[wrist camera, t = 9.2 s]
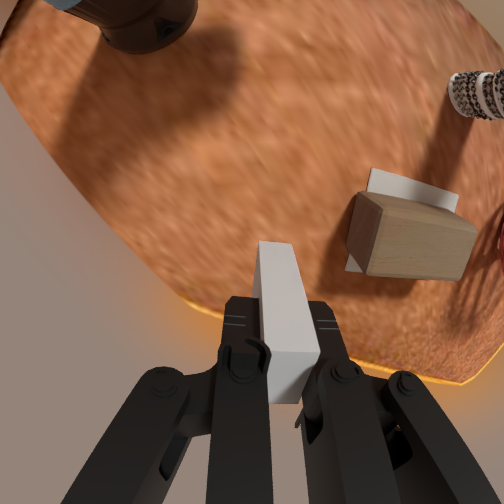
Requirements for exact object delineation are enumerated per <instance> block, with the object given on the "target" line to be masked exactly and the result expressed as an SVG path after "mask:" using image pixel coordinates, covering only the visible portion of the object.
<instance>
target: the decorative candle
mask: <svg viewBox="0 0 504 504" xmlns="http://www.w3.org/2000/svg"><path fill="white" fill-rule="evenodd" d="M448 93H449V97H450V100H451V103H452V104H453V106H454V108H455V109H456V110H457V111H458V112H459V113H460V115H463V116H465V117H472V118H474V117H475V116H476V117H477V119H479V118H483V119H487V118H488V119H489V120H492V119H504V70H503V69H501V70H499V71H497V72H496V73H485V72H484V71H481V72H480V71H477V72H464V73H459V74H454V75H453V76H452V77H450V80H449V83H448Z"/></svg>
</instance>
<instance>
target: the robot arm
mask: <svg viewBox="0 0 504 504" xmlns="http://www.w3.org/2000/svg"><path fill="white" fill-rule="evenodd" d="M44 1H46V2H48V3H49V4H51V5H53V6H54V7H55V8H56V9H58V10H62V11H64V12H67V13H69V14H72V15H74V16H77V17H79V18H81V19H84V20H86V21H88V22H90V23H93V24H95V25H97V26H98V27H99V29H100V31H101V32H102V35H103V37H104V38H105V40H106V41H107V42H108V43H109V44H110V45H111V46H112V47H114V48H116V49H118V50H120V51H122V52H125V53H129V54H144V53H149V52H153V51H156V50H159V49H161V48H163V47H165V46H167V45H169V44H170V43H172V42H173V41H175V40H176V39H178V38H179V37H180V36H181V35H182V34H183V33H184V32H185V31H186V30H187V29H188V27H189V26H190V25H191V23H192V22H193V20H194V18H195V15H196V12H197V8H198V0H44ZM301 396H302V400H303V409H302V411H301V413H300V415H299V416H298V418H297V420H296V422H295V428H298V427H299V425H300V423H301V431H302V440H303V449H304V457H305V467H306V476H307V486H308V496H309V504H501V502H500V500H499V499H498V497H497V495H496V493H495V491H494V489H493V488H492V486H491V484H490V483H489V481H488V479H487V477H486V476H485V474H484V472H483V471H482V469H481V467H480V466H479V464H478V463H477V461H476V460H475V458H474V457H473V455H472V453H471V452H470V450H469V448H468V447H467V445H466V444H465V442H464V441H463V439H462V438H461V436H460V435H459V433H458V432H457V430H456V429H455V427H454V426H453V424H452V423H451V422H450V420H449V419H448V417H447V416H446V414H445V413H444V411H443V410H442V409H441V407H440V406H439V404H438V403H437V402H436V400H435V399H434V397H433V396H432V395H431V393H430V392H429V390H428V389H427V388H426V386H425V385H424V384H423V383H422V381H421V380H420V379H419V378H418V377H417V376H416V375H415V374H413V373H411V372H408V371H403V370H402V371H396V372H395V373H393V374H392V375H391V376H390V378H389V379H388V380H387V379H382V378H378V377H373V376H369V375H366V374H364V372H363V371H362V369H361V367H360V366H359V365H357V364H356V363H355V362H354V361H351V360H350V359H349V356H348V353H347V350H346V347H345V344H344V342H343V339H342V336H341V333H340V330H339V327H338V324H337V322H336V319H335V316H334V313H333V310H332V309H331V308H330V307H329V306H328V305H327V304H326V303H325V302H321V301H307V298H306V294H305V291H304V287H303V283H302V280H301V276H300V273H299V269H298V266H297V262H296V259H295V255H294V252H293V248H292V245H291V244H287V243H277V242H266V241H259V244H258V251H257V259H256V266H255V274H254V281H253V289H252V298H250V297H238V296H232V297H231V298H230V299H229V300H228V302H227V303H226V304H225V313H224V321H223V330H222V339H221V344H220V347H219V349H218V360H217V363H216V364H215V365H214V366H213V367H212V368H211V369H209V370H207V371H206V372H202V373H198V374H192V375H183V373H182V372H180V371H178V370H176V369H174V368H170V367H165V366H164V367H155V368H153V369H151V370H148V371H147V372H146V373H145V374H144V375H143V376H142V377H141V378H140V379H139V381H138V382H137V384H136V385H135V387H134V389H133V390H132V392H131V393H130V394H129V396H128V398H127V399H126V401H125V402H124V404H123V405H122V407H121V408H120V410H119V411H118V413H117V414H116V416H115V417H114V419H113V420H112V422H111V424H110V425H109V427H108V428H107V430H106V431H105V433H104V434H103V436H102V438H101V439H100V441H99V442H98V444H97V445H96V447H95V449H94V450H93V452H92V453H91V455H90V456H89V458H88V460H87V461H86V463H85V465H84V466H83V468H82V469H81V471H80V472H79V474H78V476H77V477H76V479H75V481H74V482H73V484H72V486H71V487H70V489H69V490H68V492H67V494H66V495H65V497H64V499H63V500H62V502H61V504H162V503H163V501H164V499H165V496H166V494H167V492H168V490H169V488H170V486H171V483H172V481H173V479H174V477H175V475H176V473H177V470H178V468H179V466H180V464H181V462H182V459H183V457H184V455H185V453H186V450H187V448H188V446H189V444H190V442H191V439H192V437H195V436H201V435H206V434H211V440H210V452H209V465H208V478H207V491H206V504H273V485H272V484H273V481H272V460H271V441H270V421H269V404H298V403H299V400H300V398H301ZM397 425H398V426H399V427H400V428H399V427H398V426H397Z"/></svg>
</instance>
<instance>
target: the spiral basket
mask: <svg viewBox="0 0 504 504" xmlns="http://www.w3.org/2000/svg"><path fill="white" fill-rule="evenodd" d="M499 257H500V263H501V268H502V272H503V275H504V221H503V224H502V228H501V234H500V243H499Z"/></svg>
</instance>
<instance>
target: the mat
mask: <svg viewBox="0 0 504 504" xmlns="http://www.w3.org/2000/svg"><path fill="white" fill-rule="evenodd" d="M366 191H368V192H373V193H379V194H384V195H389V196H394V197H398V198H403V199H408V200H412V201H417V202H421V203H425V204H430V205H434V206H438V207H442V208H446V209H448V210H450V211H452V212H453V213H454V212H455V208H456V205H457V201H458V197H459V195H457V194H454V193H452V192H449V191H446V190H443V189H441V188H438V187H435V186H432V185H429V184H426V183H423V182H420V181H416V180H413V179H410V178H407V177H403V176H400V175H397V174H393V173H390V172H386V171H382V170H379V169H375V168H371V172H370V177H369V181H368V185H367V190H366ZM345 271H351V272H360V273H363V272H362V270H361V269H360V267H359V266H358V264H357V263H356V261H355V260H354V258H353V257H352V256H351V254H349V257H348V260H347V264H346V267H345ZM425 280H427V279H425Z"/></svg>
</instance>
